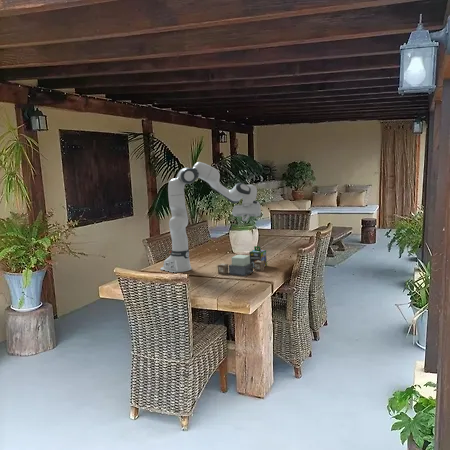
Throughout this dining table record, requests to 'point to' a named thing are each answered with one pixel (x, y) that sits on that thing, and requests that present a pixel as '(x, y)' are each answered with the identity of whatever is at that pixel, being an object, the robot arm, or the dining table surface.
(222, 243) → the dining table surface
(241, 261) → the plain block
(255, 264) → the walnut block right
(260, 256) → the chalk box
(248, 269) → the gray tray
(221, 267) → the walnut block left
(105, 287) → the dining table surface
